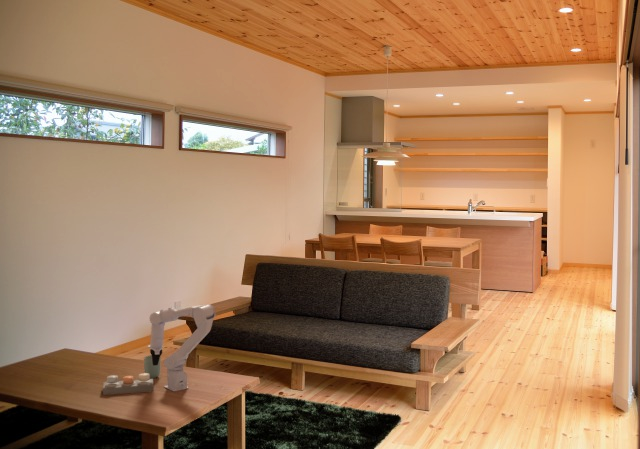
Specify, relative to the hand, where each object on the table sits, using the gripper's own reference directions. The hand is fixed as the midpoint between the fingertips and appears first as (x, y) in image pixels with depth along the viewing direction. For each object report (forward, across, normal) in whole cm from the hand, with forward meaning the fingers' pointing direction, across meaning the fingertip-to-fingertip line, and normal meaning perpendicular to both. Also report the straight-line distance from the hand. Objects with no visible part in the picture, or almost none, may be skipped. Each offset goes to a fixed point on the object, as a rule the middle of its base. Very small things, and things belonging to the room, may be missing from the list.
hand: (155, 364), depth 320 cm
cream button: (+5, +5, -5) cm, 9 cm away
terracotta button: (+7, +5, -12) cm, 14 cm away
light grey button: (+6, +5, -19) cm, 21 cm away
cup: (+10, -12, 0) cm, 16 cm away
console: (+10, +5, -12) cm, 16 cm away
